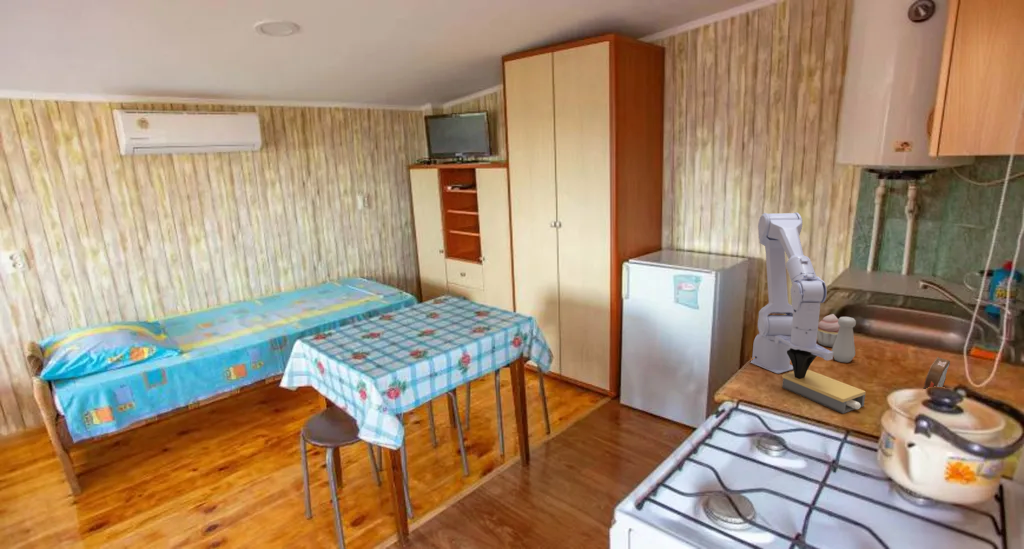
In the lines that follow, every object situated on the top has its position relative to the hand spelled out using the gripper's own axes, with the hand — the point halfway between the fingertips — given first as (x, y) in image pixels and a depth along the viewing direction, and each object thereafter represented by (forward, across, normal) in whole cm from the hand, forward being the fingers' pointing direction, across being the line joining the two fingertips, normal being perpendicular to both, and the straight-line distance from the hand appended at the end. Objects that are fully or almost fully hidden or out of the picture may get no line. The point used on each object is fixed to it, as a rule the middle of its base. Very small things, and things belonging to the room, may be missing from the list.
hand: (799, 377), depth 134 cm
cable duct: (+4, +5, +2) cm, 6 cm away
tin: (+4, +17, +28) cm, 33 cm away
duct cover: (+1, +5, +2) cm, 5 cm away
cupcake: (+4, -17, +38) cm, 42 cm away
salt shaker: (+4, -7, +29) cm, 30 cm away
